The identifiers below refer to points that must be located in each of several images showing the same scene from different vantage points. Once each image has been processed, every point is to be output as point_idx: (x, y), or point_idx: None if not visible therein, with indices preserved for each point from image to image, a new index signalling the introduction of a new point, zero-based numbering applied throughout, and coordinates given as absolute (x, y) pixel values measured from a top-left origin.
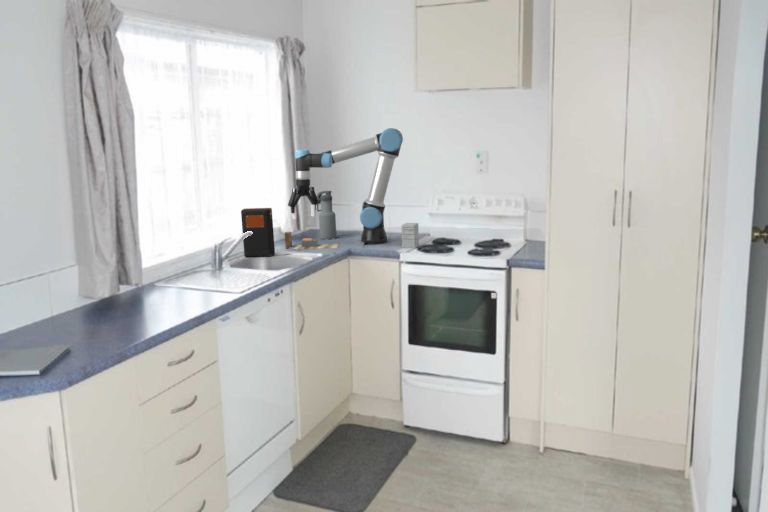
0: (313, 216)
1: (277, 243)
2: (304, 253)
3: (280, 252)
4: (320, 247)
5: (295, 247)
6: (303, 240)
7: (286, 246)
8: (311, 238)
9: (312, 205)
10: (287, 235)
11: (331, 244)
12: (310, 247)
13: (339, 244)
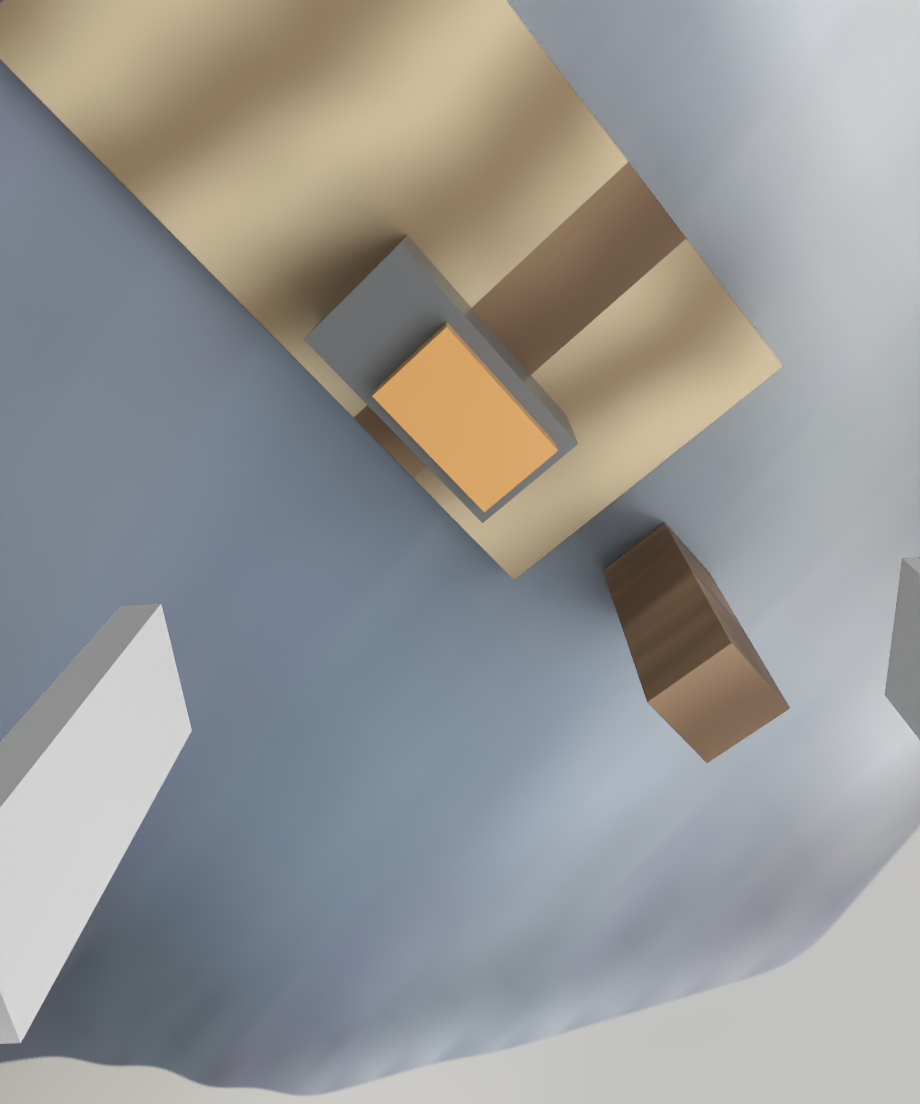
0: (166, 636)
1: (477, 947)
2: (816, 38)
3: (913, 459)
4: (423, 83)
5: (654, 460)
6: (545, 435)
7: (714, 584)
8: (396, 397)
9: (3, 926)
10: (748, 654)
11: (117, 160)
12: (525, 249)
13: (8, 16)
